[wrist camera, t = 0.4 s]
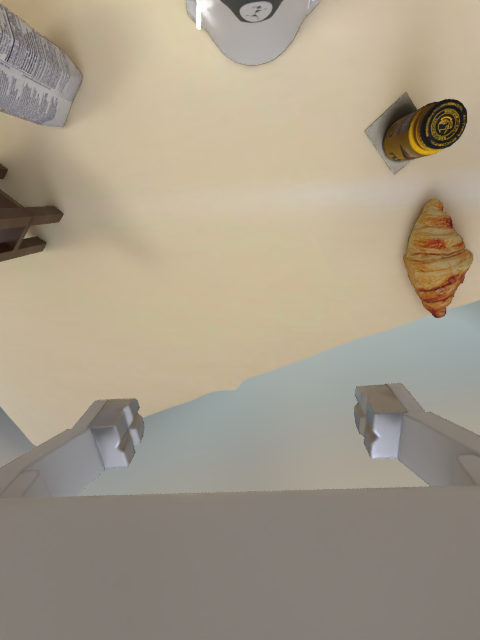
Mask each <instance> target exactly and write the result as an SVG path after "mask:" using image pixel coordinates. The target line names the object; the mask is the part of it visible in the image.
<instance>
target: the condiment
mask: <svg viewBox="0 0 480 640" xmlns="http://www.w3.org/2000/svg"><path fill="white" fill-rule="evenodd" d="M466 123H467V111H466V108H465V107H464V105H463V104H462V103H461V102H459V101H458V100H454V99H452V100H451V99H445V100H443V101H440V102H433V103H430V104H427V105H425V106H423V107H422V108H420V109H418V110H417V109H416V107H415V106H414V104H413V103H412V101H411V99H410V97H409V96H408V94H407V92H406V93H404V94H403V95H402V96H401V97H400V98H399V99H398V100H397V101H396V102H395V103H394V104H393V105H392V106H391V107H390V108H389V109H388V110H387V111H385V112H384V113H383V114H382V115H381V116H380V117H379V118H378V119H377V120H376V121H375V122H374V123H373V124H372V125H371V126H370V127H369V128H368V129H367V130H366V131H365V133H366V134H367V136H368V137H369V139H370V140H371V141H372V143H373V144H374V146H375V147H376V149H377V150H378V152H379V154H380V155H381V157H382V158H383V159H384V161H385V162H386V164H387V165H388V167H389V168H390V170H391V171H392V172H393V174H394V175H395V174H396V173H397V172H398V171H399V170H400V169H401V168H403V167H404V166H405V165H406V164H407V163H408V162H409V161H411V160H412V159H415V158H419V157H423V156H428V155H432V154H435V153H437V152H439V151H441V150H442V149H444V148H446V147H449V146H451V145H452V144H453V143H455V142H456V141H457V140H458V139H459V138H460V136H461V135H462V133H463V131H464V129H465V126H466Z"/></svg>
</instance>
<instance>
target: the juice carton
mask: <svg viewBox="0 0 480 640" xmlns="http://www.w3.org/2000/svg"><path fill="white" fill-rule="evenodd" d="M81 80H82V74H81V73H80V71H79V70H78V69H77V67H76V66H75V65H74V64H73V62H72V61H71V60H70V59H69V57H68V56H67V55H66V54H65V53H64V52H62V51H61V50H60V49H59V48H58V47H56V46H55V45H54V44H53V43H51V42H50V41H49V40H47V39H46V38H45V37H44V36H42V35H41V34H40V33H38V32H37V31H36V30H34V29H33V28H32V27H31V26H30V25H28V24H27V23H26V22H24V21H23V20H22V19H21V18H19V17H18V16H17V15H15V14H14V13H13V12H11V11H10V10H9V9H8V8H6V7H5V6H4V5H2V4H1V3H0V111H1V112H4V113H7V114H9V115H12V116H15V117H18V118H21V119H24V120H27V121H30V122H33V123H36V124H40V125H44V126H52V127H63V126H64V124H65V121H66V119H67V116H68V113H69V110H70V107H71V104H72V101H73V99H74V97H75V95H76V93H77V90H78V88H79V86H80V83H81Z"/></svg>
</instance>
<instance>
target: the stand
mask: <svg viewBox="0 0 480 640" xmlns="http://www.w3.org/2000/svg"><path fill="white" fill-rule="evenodd" d="M7 171H8V170H7V169H6V168H5V167H4V166H2V165H1V164H0V179H4V177H5V175H6V173H7ZM63 214H64V213H62V212H61V211H60V210H58V209H57V208H56V207H55V206H47V207H23V206H22V205H20V204H19V203H18V202H17V201H15V200H14V199H13V198H11V197H10V196H9V195H7V194H6V193H5V192H3V191H2V190H1V189H0V262H1V261H5V260H9V259H13V258H17V257H21V256H25V255H29V254H33V253H37V252H41V251H43V249H44V247H45V246H46V244H47V243H46V242H44V241H43V240H42V239H40V238H39V237H38V236H36V237H31V238H25V239H23V238H24V237H25V235H26V233H27V231H28V229H29V227H30V226H32V225H40V224H48V223H56V222H59V221H60V219H61V218H62V216H63Z"/></svg>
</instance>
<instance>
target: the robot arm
mask: <svg viewBox="0 0 480 640" xmlns="http://www.w3.org/2000/svg"><path fill="white" fill-rule="evenodd" d="M319 2H320V0H187V3H186V5H187V12H188V15H189V17H190V18H191V19H192V20H193V21H194V22H195V23H196V24H197V28H198V29H200V26H201V27H202V28H204V29H205V30H206V31H207V32H208V34H209V35H210V37H211V38H212V40H213V41H214V43H215V44H216V46H217V47H218V48H219V49H220V51H221V52H222V53H223V54H225V55H226V56H227V57H228V58H230V59H231V60H233V61H235V62H238V63H240V64H244V65H260V64H264V63H267V62H269V61H271V60H273V59H275V58H276V57H277V56H279V55H280V54H281V53H282V52H283V51H284V50H285V49H286V48H287V47H288V46H289V45H290V43H291V42H292V40H293V39H294V37H295V35H296V34H297V32H298V29H299V27H300V25H301V23H302V21H303V20H304V18H305V17H306V16H307V15H308V14H309V13H310V12H311V11H312V10H313V9H314V8H315V7H316V6H317V5H318V3H319ZM355 397H356V399H357V401H358V403H357V404H356V405H355V407H354V415H355V423H356V426H357V429H358V431H359V433H360V434H361V435H363V436H364V445H365V447H366V449H367V451H368V453H369V455H370V458H371V459H378V458H379V459H381V458H382V459H385V458H388V459H389V458H398V460H399V461H400V462H401V463H403V464H404V465H405V466H406V467H407V468H409V469H410V470H411V471H412V472H414V473H415V474H416V475H417V476H418V477H420V478H421V479H422V480H423V481H424V482H426V483H427V484H428V485H429V487H396V488H362V489H361V488H360V489H322V490H284V491H249V492H216V493H215V492H214V493H179V494H145V495H143V494H142V495H107V496H106V495H105V496H77V495H78V494H79V493H81V492H82V491H83V490H84V489H85V488H86V487H87V486H88V485H89V484H90V483H91V482H92V481H94V480H95V479H96V478H97V477H98V476H99V475H100V474H101V473H102V472H103V471H104V470H105V469H109V468H125V467H129V464H130V463H131V460H132V458H133V456H134V454H135V449H134V447H135V446H137V445H138V444H139V443H140V442H141V440H142V437H143V433H144V421H143V417H142V416H141V415H139V414H138V413H137V412H138V410H139V408H140V407H139V404H138V400H136V399H135V398H132V399H110V400H109V399H105V400H97V401H94V402H93V404H92V405H91V406H90V407H89V409H88V410H87V411H86V412H85V413H84V415H83V416H82V417H81V418H80V419H79V421H78V422H77V423H76V424H75V426H74V427H73V428H72V429H67V430H65V431H64V432H62V433H60V434H58V435H57V436H55V437H53V438H51V439H50V440H48V441H46V442H44V443H43V444H41V445H39V446H37V447H36V448H34V449H32V450H31V451H29V452H27V453H25V454H24V455H22V456H20V457H18V458H17V459H15V460H13V461H12V462H10V463H8V464H6V465H5V466H3V467H1V468H0V640H480V435H478V434H476V433H473V432H472V431H469V430H467V429H465V428H463V427H461V426H459V425H457V424H455V423H453V422H451V421H449V420H447V419H444V418H442V417H440V416H438V415H436V414H434V413H432V412H425V410H424V409H423V408H422V407H421V406H420V405H419V403H418V402H417V401H416V400H415V398H414V397H413V396H412V395H411V393H410V392H409V391H408V390H407V389H406V387H405V386H404V385H403V384H401V383H391V384H384V385H369V386H357V387H356V390H355Z"/></svg>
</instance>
